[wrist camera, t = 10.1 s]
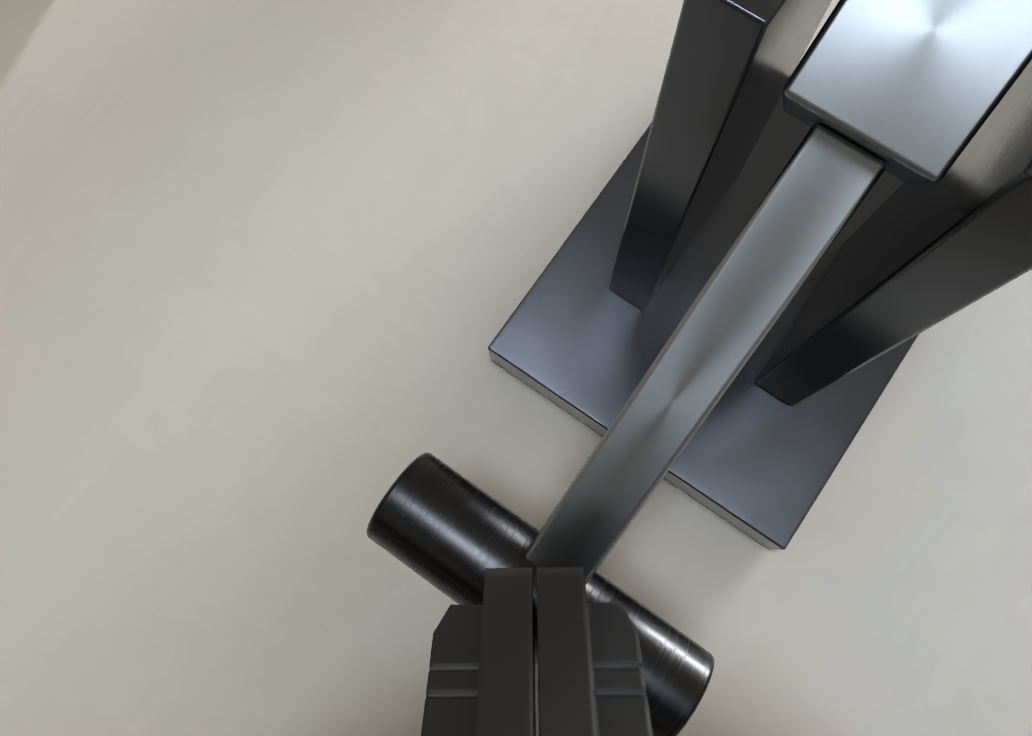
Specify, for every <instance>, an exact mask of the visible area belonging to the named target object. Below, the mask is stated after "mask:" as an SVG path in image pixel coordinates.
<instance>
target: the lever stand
mask: <svg viewBox="0 0 1032 736" xmlns="http://www.w3.org/2000/svg"><path fill="white" fill-rule="evenodd" d="M831 1H832V0H684V2H683V6H682V10H681V14H680V17H679V21H678V25H677V29H676V33H675V37H674V40H673V44H672V48H671V52H670V56H669V59H668V63H667V67H666V71H665V75H664V79H663V82H662V86H661V90H660V94H659V98H658V102H657V105H656V109H655V113H654V117H653V121H652V123H651V124H650V126H649V127H648V128H647V130H646V131H645V132H644V134H643V135H642V137H641V138H640V139H639V141H638V142H637V143H636V145H635V146H634V148H633V149H632V150H631V152H630V153H629V154H628V156H627V157H626V159H625V160H624V161H623V163H622V164H621V165H620V167H619V168H618V170H617V171H616V172H615V174H614V175H613V176H612V178H611V179H610V180H609V182H608V183H607V185H606V186H605V187H604V189H603V190H602V191H601V193H600V194H599V196H598V197H597V198H596V200H595V201H594V202H593V204H592V205H591V207H590V208H589V209H588V211H587V212H586V213H585V215H584V216H583V218H582V219H581V220H580V222H579V223H578V224H577V226H576V227H575V229H574V230H573V231H572V233H571V234H570V235H569V237H568V238H567V240H566V241H565V242H564V244H563V245H562V246H561V248H560V249H559V251H558V252H557V253H556V255H555V256H554V257H553V259H552V260H551V261H550V263H549V264H548V266H547V267H546V268H545V270H544V271H543V272H542V274H541V275H540V277H539V278H538V279H537V281H536V282H535V283H534V285H533V286H532V288H531V289H530V290H529V292H528V293H527V294H526V296H525V297H524V299H523V300H522V301H521V303H520V304H519V305H518V307H517V308H516V310H515V311H514V312H513V314H512V315H511V316H510V318H509V319H508V321H507V322H506V323H505V325H504V326H503V327H502V329H501V330H500V332H499V333H498V334H497V336H496V337H495V338H494V340H493V341H492V343H491V344H490V345H489V347H488V350H489V354H490V358H491V360H492V361H493V362H495V363H496V364H498V365H499V366H501V367H502V368H503V369H505V370H506V371H508V372H509V373H511V374H512V375H514V376H515V377H517V378H518V379H520V380H521V381H523V382H524V383H525V384H527V385H528V386H530V387H531V388H533V389H534V390H536V391H537V392H539V393H540V394H542V395H543V396H545V397H546V398H547V399H549V400H550V401H552V402H553V403H555V404H556V405H558V406H559V407H561V408H562V409H564V410H565V411H566V412H568V413H569V414H571V415H572V416H574V417H575V418H577V419H578V420H580V421H581V422H583V423H584V424H586V425H587V426H588V427H590V428H591V429H593V430H594V431H596V432H597V433H599V434H600V435H602V436H604V435H605V433H606V432H607V430H608V429H609V427H610V426H611V424H612V423H613V421H614V420H615V418H616V417H617V415H618V414H619V412H620V411H621V409H622V408H623V406H624V405H625V403H626V402H627V400H628V399H629V397H630V396H631V394H632V393H633V391H634V390H635V389H636V387H637V386H638V384H639V383H640V381H641V380H642V378H643V377H644V375H645V374H646V372H647V371H648V369H649V368H650V366H651V365H652V363H653V362H654V360H655V359H656V357H657V356H658V354H659V353H660V351H661V350H662V348H663V347H664V345H665V344H666V342H667V341H668V339H669V338H670V337H671V335H672V334H673V332H674V331H675V329H676V328H677V326H678V325H679V323H680V322H681V320H682V319H683V317H684V316H685V314H686V313H687V311H688V310H689V308H690V307H691V305H692V304H693V302H694V301H695V299H696V298H697V296H698V295H699V293H700V292H701V290H702V289H703V287H704V286H705V284H706V283H707V282H708V280H709V279H710V277H711V276H712V274H713V273H714V271H715V270H716V268H717V267H718V265H719V264H720V262H721V261H722V259H723V258H724V256H725V255H726V253H727V252H728V250H729V249H730V247H731V246H732V244H733V243H734V241H735V240H736V238H737V237H738V235H739V234H740V232H741V231H742V230H743V228H744V227H745V225H746V224H747V222H748V221H749V219H750V218H751V216H752V215H753V213H754V212H755V210H756V209H757V207H758V206H759V204H760V203H761V201H762V200H763V198H764V197H765V195H766V194H767V192H768V191H769V189H770V188H771V186H772V185H773V183H774V182H775V180H776V179H777V177H778V176H779V175H780V173H781V172H782V170H783V169H784V167H785V166H786V164H787V163H788V161H789V160H790V158H791V157H792V155H793V154H794V152H795V151H796V149H797V148H798V146H799V145H800V143H801V142H802V140H803V139H804V137H805V136H806V134H807V133H808V131H809V130H810V128H811V127H810V126H808V125H806V124H805V123H803V122H801V121H800V120H798V119H796V118H794V117H793V116H791V115H789V114H788V113H786V112H785V111H784V109H783V88H784V86H785V84H786V83H787V81H788V79H789V78H790V76H791V75H792V73H793V72H794V70H795V69H796V67H797V65H798V63H799V61H800V59H801V57H802V56H803V54H804V52H805V50H806V48H807V46H808V44H809V42H810V41H811V39H812V37H813V35H814V33H815V31H816V29H817V27H818V25H819V24H820V22H821V20H822V18H823V16H824V14H825V12H826V10H827V8H828V7H829V5H830V3H831ZM1031 269H1032V60H1031V61H1030V63H1029V64H1028V65H1027V67H1026V68H1025V69H1024V71H1023V72H1022V73H1021V75H1020V76H1019V77H1018V79H1017V80H1016V81H1015V83H1014V84H1013V85H1012V87H1011V88H1010V89H1009V90H1008V92H1007V93H1006V94H1005V96H1004V97H1003V98H1002V100H1001V101H1000V102H999V104H998V105H997V106H996V108H995V109H994V110H993V112H992V113H991V114H990V116H989V117H988V118H987V120H986V121H985V122H984V124H983V125H982V126H981V128H980V129H979V130H978V132H977V133H976V134H975V136H974V137H973V138H972V140H971V141H970V142H969V144H968V145H967V146H966V148H965V149H964V150H963V152H962V153H961V154H960V156H959V157H958V158H957V160H956V161H955V162H954V164H953V165H952V166H951V168H950V169H949V170H948V172H947V173H946V174H945V176H944V177H943V178H942V179H941V180H939V181H938V182H930V183H905V182H903V181H902V180H900V179H898V178H897V177H895V176H893V175H892V174H890V173H888V172H886V171H884V172H883V174H882V175H881V176H880V178H879V179H878V181H877V182H876V183H875V185H874V186H873V188H872V189H871V190H870V192H869V193H868V195H867V196H866V197H865V199H864V200H863V201H862V203H861V204H860V206H859V207H858V208H857V210H856V211H855V213H854V214H853V215H852V217H851V218H850V219H849V221H848V222H847V224H846V225H845V226H844V228H843V229H842V231H841V232H840V233H839V235H838V236H837V238H836V239H835V240H834V242H833V243H832V244H831V246H830V247H829V249H828V250H827V251H826V253H825V254H824V256H823V257H822V258H821V260H820V261H819V262H818V264H817V265H816V267H815V268H814V269H813V271H812V272H811V274H810V275H809V276H808V278H807V279H806V281H805V282H804V283H803V285H802V286H801V287H800V289H799V290H798V292H797V293H796V294H795V296H794V297H793V299H792V300H791V301H790V303H789V304H788V305H787V307H786V308H785V310H784V311H783V312H782V314H781V315H780V317H779V318H778V319H777V321H776V322H775V323H774V325H773V326H772V328H771V329H770V330H769V332H768V333H767V335H766V336H765V337H764V339H763V340H762V342H761V343H760V344H759V346H758V347H757V348H756V350H755V351H754V353H753V354H752V355H751V357H750V358H749V360H748V361H747V362H746V364H745V365H744V366H743V368H742V369H741V371H740V372H739V373H738V375H737V376H736V378H735V379H734V380H733V382H732V383H731V385H730V386H729V387H728V389H727V390H726V391H725V393H724V394H723V396H722V397H721V398H720V400H719V401H718V403H717V404H716V405H715V407H714V408H713V409H712V411H711V412H710V414H709V415H708V416H707V418H706V419H705V421H704V422H703V423H702V425H701V426H700V427H699V429H698V430H697V432H696V433H695V434H694V436H693V437H692V439H691V440H690V441H689V443H688V444H687V446H686V447H685V448H684V450H683V451H682V452H681V454H680V455H679V457H678V458H677V459H676V461H675V462H674V464H673V465H672V466H671V468H670V469H669V470H668V472H667V473H666V475H665V476H664V477H663V478H665V479H666V480H668V481H669V482H671V483H672V484H673V485H675V486H676V487H678V488H679V489H681V490H682V491H684V492H685V493H687V494H688V495H690V496H691V497H692V498H694V499H695V500H697V501H698V502H700V503H701V504H703V505H704V506H706V507H707V508H709V509H710V510H712V511H713V512H714V513H716V514H717V515H719V516H720V517H722V518H723V519H725V520H726V521H728V522H729V523H731V524H732V525H734V526H735V527H736V528H738V529H739V530H741V531H742V532H744V533H745V534H747V535H748V536H750V537H751V538H753V539H754V540H755V541H757V542H758V543H760V544H761V545H763V546H764V547H766V548H767V549H769V550H784V549H785V548H786V547H787V545H788V544H789V542H790V540H791V539H792V537H793V536H794V534H795V532H796V531H797V529H798V527H799V526H800V524H801V523H802V521H803V519H804V518H805V516H806V515H807V513H808V511H809V510H810V508H811V507H812V505H813V503H814V502H815V500H816V499H817V497H818V495H819V494H820V492H821V491H822V489H823V487H824V486H825V484H826V482H827V481H828V479H829V478H830V476H831V474H832V473H833V471H834V470H835V468H836V466H837V465H838V463H839V462H840V460H841V458H842V457H843V455H844V454H845V452H846V450H847V449H848V447H849V445H850V444H851V442H852V441H853V439H854V437H855V436H856V434H857V433H858V431H859V429H860V428H861V426H862V425H863V423H864V421H865V420H866V418H867V417H868V415H869V413H870V412H871V410H872V409H873V407H874V405H875V404H876V402H877V400H878V399H879V397H880V396H881V394H882V392H883V391H884V389H885V388H886V386H887V384H888V383H889V381H890V380H891V378H892V376H893V375H894V373H895V372H896V370H897V368H898V367H899V365H900V363H901V362H902V360H903V359H904V357H905V355H906V354H907V352H908V351H909V349H910V347H911V346H912V344H913V343H914V341H915V339H916V338H917V336H918V335H919V333H921V332H923V331H924V330H926V329H928V328H930V327H931V326H933V325H935V324H937V323H938V322H940V321H942V320H944V319H945V318H947V317H949V316H951V315H952V314H954V313H956V312H958V311H959V310H961V309H963V308H965V307H966V306H968V305H970V304H972V303H973V302H975V301H977V300H979V299H980V298H982V297H984V296H986V295H987V294H989V293H991V292H993V291H994V290H996V289H998V288H1000V287H1001V286H1003V285H1005V284H1007V283H1008V282H1010V281H1012V280H1014V279H1015V278H1017V277H1019V276H1021V275H1022V274H1024V273H1026V272H1028V271H1029V270H1031Z"/></svg>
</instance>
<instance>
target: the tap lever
mask: <svg viewBox="0 0 1032 736" xmlns="http://www.w3.org/2000/svg"><path fill="white" fill-rule="evenodd" d="M1031 60H1032V0H840V1H839V2H838V4H837V5H836V7H835V8H834V10H833V12H832V13H831V15H830V16H829V18H828V19H827V21H826V22H825V24H824V25H823V27H822V29H821V30H820V32H819V33H818V35H817V36H816V38H815V39H814V41H813V42H812V44H811V46H810V47H809V49H808V50H807V52H806V53H805V55H804V56H803V58H802V59H801V61H800V62H799V64H798V66H797V67H796V69H795V70H794V72H793V73H792V75H791V76H790V78H789V79H788V81H787V83H786V84H785V86H784V88H783V109H784V111H785V112H786V113H788V114H789V115H791V116H793V117H794V118H796V119H798V120H800V121H801V122H803V123H805V124H806V125H808V126H810V127H811V128H810V130H809V131H808V133H807V134H806V136H805V137H804V139H803V140H802V142H801V143H800V145H799V146H798V148H797V149H796V151H795V152H794V154H793V155H792V157H791V158H790V160H789V161H788V163H787V164H786V166H785V167H784V169H783V170H782V172H781V173H780V175H779V176H778V177H777V179H776V180H775V182H774V183H773V185H772V186H771V188H770V189H769V191H768V192H767V194H766V195H765V197H764V198H763V200H762V201H761V203H760V204H759V206H758V207H757V209H756V210H755V212H754V213H753V215H752V216H751V218H750V219H749V221H748V222H747V224H746V225H745V227H744V228H743V230H742V231H741V232H740V234H739V235H738V237H737V238H736V240H735V241H734V243H733V244H732V246H731V247H730V249H729V250H728V252H727V253H726V255H725V256H724V258H723V259H722V261H721V262H720V264H719V265H718V267H717V268H716V270H715V271H714V273H713V274H712V276H711V277H710V279H709V280H708V282H707V283H706V284H705V286H704V287H703V289H702V290H701V292H700V293H699V295H698V296H697V298H696V299H695V301H694V302H693V304H692V305H691V307H690V308H689V310H688V311H687V313H686V314H685V316H684V317H683V319H682V320H681V322H680V323H679V325H678V326H677V328H676V329H675V331H674V332H673V334H672V335H671V337H670V338H669V339H668V341H667V342H666V344H665V345H664V347H663V348H662V350H661V351H660V353H659V354H658V356H657V357H656V359H655V360H654V362H653V363H652V365H651V366H650V368H649V369H648V371H647V372H646V374H645V375H644V377H643V378H642V380H641V381H640V383H639V384H638V386H637V387H636V389H635V390H634V391H633V393H632V394H631V396H630V397H629V399H628V400H627V402H626V403H625V405H624V406H623V408H622V409H621V411H620V412H619V414H618V415H617V417H616V418H615V420H614V421H613V423H612V424H611V426H610V427H609V429H608V430H607V432H606V433H605V435H604V436H603V438H602V439H601V441H600V442H599V444H598V445H597V446H596V448H595V449H594V451H593V452H592V454H591V455H590V457H589V458H588V460H587V461H586V463H585V464H584V466H583V467H582V469H581V470H580V472H579V473H578V475H577V476H576V478H575V479H574V481H573V482H572V484H571V485H570V487H569V488H568V490H567V491H566V493H565V494H564V496H563V497H562V498H561V500H560V501H559V503H558V504H557V506H556V507H555V509H554V510H553V512H552V513H551V515H550V516H549V518H548V519H547V521H546V522H545V524H544V525H543V527H542V528H541V530H540V531H538V530H537V529H536V528H534V527H533V526H531V525H530V524H529V523H527V522H526V521H524V520H523V519H522V518H520V517H519V516H517V515H516V514H515V513H513V512H512V511H510V510H509V509H508V508H506V507H505V506H503V505H502V504H501V503H499V502H498V501H496V500H495V499H494V498H492V497H491V496H489V495H488V494H487V493H485V492H484V491H482V490H481V489H480V488H478V487H477V486H475V485H474V484H473V483H471V482H470V481H468V480H467V479H466V478H464V477H463V476H461V475H460V474H459V473H457V472H456V471H454V470H453V469H452V468H450V467H449V466H447V465H446V464H445V463H443V462H442V461H440V460H439V459H438V458H436V457H435V456H433V455H432V454H430V453H424V454H422V455H420V456H419V457H418V458H416V459H415V460H414V461H413V462H412V463H411V464H410V465H409V466H408V467H407V468H406V469H405V470H404V471H403V472H402V473H401V475H400V476H399V477H398V478H397V479H396V481H395V482H394V483H393V485H392V486H391V487H390V489H389V490H388V491H387V493H386V494H385V496H384V497H383V499H382V500H381V502H380V503H379V505H378V507H377V508H376V510H375V512H374V514H373V515H372V517H371V520H370V522H369V525H368V528H367V535H368V537H369V538H370V539H372V540H373V541H374V542H376V543H377V544H378V545H380V546H381V547H382V548H384V549H385V550H386V551H388V552H389V553H390V554H392V555H393V556H394V557H396V558H397V559H399V560H400V561H401V562H403V563H404V564H405V565H407V566H408V567H409V568H411V569H412V570H413V571H415V572H416V573H417V574H419V575H420V576H421V577H423V578H424V579H425V580H427V581H428V582H429V583H431V584H432V585H433V586H435V587H436V588H438V589H439V590H440V591H442V592H443V593H444V594H446V595H447V596H448V597H450V598H451V599H452V600H454V601H455V602H456V603H458V604H459V605H475V604H483V593H484V577H485V569H486V568H532V571H533V605H534V642H535V661H536V662H537V663H538V632H537V567H584V574H585V587H586V599H587V603H612V602H620V603H621V605H622V607H623V608H624V610H625V611H626V613H627V614H628V616H629V617H630V619H631V620H632V622H633V624H634V625H635V627H636V628H637V630H638V634H639V641H640V648H641V655H642V662H643V669H644V676H645V683H646V694H647V697H648V704H649V711H650V718H651V725H652V732H653V736H677V735H678V734H679V733H680V731H681V730H682V729H683V728H684V726H685V725H686V724H687V722H688V721H689V719H690V718H691V716H692V715H693V713H694V711H695V710H696V708H697V706H698V705H699V703H700V701H701V699H702V697H703V695H704V693H705V691H706V689H707V687H708V684H709V682H710V679H711V676H712V672H713V668H714V658H713V656H712V654H711V653H709V652H708V651H707V650H705V649H704V648H702V647H701V646H700V645H698V644H697V643H695V642H694V641H693V640H691V639H690V638H688V637H687V636H686V635H684V634H683V633H681V632H680V631H679V630H677V629H676V628H674V627H673V626H672V625H670V624H669V623H667V622H666V621H665V620H663V619H662V618H660V617H659V616H658V615H656V614H655V613H653V612H652V611H651V610H649V609H648V608H646V607H645V606H644V605H642V604H641V603H639V602H638V601H637V600H635V599H634V598H632V597H631V596H630V595H628V594H627V593H625V592H624V591H623V590H621V589H620V588H618V587H617V586H616V585H614V584H613V583H611V582H610V581H609V580H607V579H606V578H604V577H603V576H602V575H600V574H599V573H597V572H596V570H597V569H598V568H599V566H600V565H601V563H602V562H603V561H604V559H605V558H606V556H607V555H608V554H609V552H610V551H611V550H612V548H613V547H614V545H615V544H616V543H617V541H618V540H619V538H620V537H621V536H622V534H623V533H624V531H625V530H626V529H627V527H628V526H629V525H630V523H631V522H632V520H633V519H634V518H635V516H636V515H637V513H638V512H639V511H640V509H641V508H642V507H643V505H644V504H645V502H646V501H647V500H648V498H649V497H650V495H651V494H652V493H653V491H654V490H655V489H656V487H657V486H658V484H659V483H660V482H661V480H662V479H663V477H664V476H665V475H666V473H667V472H668V470H669V469H670V468H671V466H672V465H673V464H674V462H675V461H676V459H677V458H678V457H679V455H680V454H681V452H682V451H683V450H684V448H685V447H686V446H687V444H688V443H689V441H690V440H691V439H692V437H693V436H694V434H695V433H696V432H697V430H698V429H699V427H700V426H701V425H702V423H703V422H704V421H705V419H706V418H707V416H708V415H709V414H710V412H711V411H712V409H713V408H714V407H715V405H716V404H717V403H718V401H719V400H720V398H721V397H722V396H723V394H724V393H725V391H726V390H727V389H728V387H729V386H730V385H731V383H732V382H733V380H734V379H735V378H736V376H737V375H738V373H739V372H740V371H741V369H742V368H743V366H744V365H745V364H746V362H747V361H748V360H749V358H750V357H751V355H752V354H753V353H754V351H755V350H756V348H757V347H758V346H759V344H760V343H761V342H762V340H763V339H764V337H765V336H766V335H767V333H768V332H769V330H770V329H771V328H772V326H773V325H774V323H775V322H776V321H777V319H778V318H779V317H780V315H781V314H782V312H783V311H784V310H785V308H786V307H787V305H788V304H789V303H790V301H791V300H792V299H793V297H794V296H795V294H796V293H797V292H798V290H799V289H800V287H801V286H802V285H803V283H804V282H805V281H806V279H807V278H808V276H809V275H810V274H811V272H812V271H813V269H814V268H815V267H816V265H817V264H818V262H819V261H820V260H821V258H822V257H823V256H824V254H825V253H826V251H827V250H828V249H829V247H830V246H831V244H832V243H833V242H834V240H835V239H836V238H837V236H838V235H839V233H840V232H841V231H842V229H843V228H844V226H845V225H846V224H847V222H848V221H849V219H850V218H851V217H852V215H853V214H854V213H855V211H856V210H857V208H858V207H859V206H860V204H861V203H862V201H863V200H864V199H865V197H866V196H867V195H868V193H869V192H870V190H871V189H872V188H873V186H874V185H875V183H876V182H877V181H878V179H879V178H880V176H881V175H882V174H883V172H884V171H886V172H888V173H890V174H892V175H893V176H895V177H897V178H898V179H900V180H902V181H903V182H905V183H930V182H938V181H939V180H941V179H942V178H943V177H944V176H945V174H946V173H947V172H948V170H949V169H950V168H951V166H952V165H953V164H954V162H955V161H956V160H957V158H958V157H959V156H960V154H961V153H962V152H963V150H964V149H965V148H966V146H967V145H968V144H969V142H970V141H971V140H972V138H973V137H974V136H975V134H976V133H977V132H978V130H979V129H980V128H981V126H982V125H983V124H984V122H985V121H986V120H987V118H988V117H989V116H990V114H991V113H992V112H993V110H994V109H995V108H996V106H997V105H998V104H999V102H1000V101H1001V100H1002V98H1003V97H1004V96H1005V94H1006V93H1007V92H1008V90H1009V89H1010V88H1011V87H1012V85H1013V84H1014V83H1015V81H1016V80H1017V79H1018V77H1019V76H1020V75H1021V73H1022V72H1023V71H1024V69H1025V68H1026V67H1027V65H1028V64H1029V63H1030V61H1031Z"/></svg>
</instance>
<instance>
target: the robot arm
mask: <svg viewBox="0 0 1032 736" xmlns="http://www.w3.org/2000/svg"><path fill="white" fill-rule="evenodd" d="M537 632H538V705H539V736H653V732H652V725H651V718H650V711H649V704H648V697H647V694H646V683H645V676H644V669H643V662H642V655H641V648H640V641H639V634H638V630H637V628H636V627H635V625H634V624H633V622H632V620H631V619H630V617H629V616H628V614H627V613H626V611H625V610H624V608H623V607H622V605H621V603H620V602H612V603H587V599H586V587H585V574H584V567H537ZM421 736H536V720H535V642H534V605H533V571H532V568H486V569H485V577H484V593H483V604H475V605H450V607H449V608H448V610H447V612H446V613H445V615H444V617H443V618H442V620H441V622H440V623H439V625H438V627H437V628H436V630H435V631H434V633H433V641H432V649H431V658H430V671H429V674H428V683H427V691H426V699H425V708H424V716H423V724H422V733H421Z"/></svg>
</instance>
